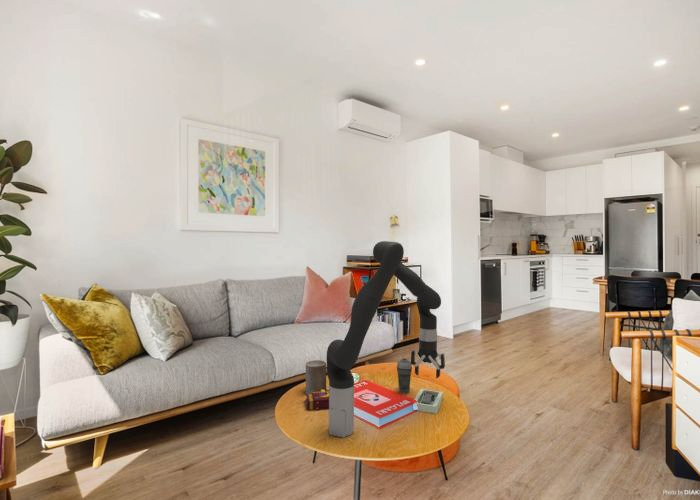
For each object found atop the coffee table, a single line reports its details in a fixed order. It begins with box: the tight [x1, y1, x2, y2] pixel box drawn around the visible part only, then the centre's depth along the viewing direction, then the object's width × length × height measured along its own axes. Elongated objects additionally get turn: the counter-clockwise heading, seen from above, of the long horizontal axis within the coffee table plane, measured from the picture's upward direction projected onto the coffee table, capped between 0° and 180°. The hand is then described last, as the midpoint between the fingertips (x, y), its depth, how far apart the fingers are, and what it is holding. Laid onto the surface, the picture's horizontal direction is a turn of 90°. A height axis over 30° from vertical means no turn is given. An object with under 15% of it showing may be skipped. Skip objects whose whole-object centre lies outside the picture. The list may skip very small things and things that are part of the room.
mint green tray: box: [413, 388, 444, 415], centre depth 168 cm, size 17×10×3 cm, turn 158°
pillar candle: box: [305, 359, 327, 392], centre depth 181 cm, size 10×10×15 cm
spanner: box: [421, 389, 436, 405], centre depth 168 cm, size 13×4×3 cm, turn 158°
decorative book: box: [303, 389, 329, 412], centre depth 168 cm, size 11×16×5 cm
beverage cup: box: [396, 348, 413, 395], centre depth 182 cm, size 7×7×20 cm
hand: (427, 376), depth 167 cm, fingers open, 8 cm apart
